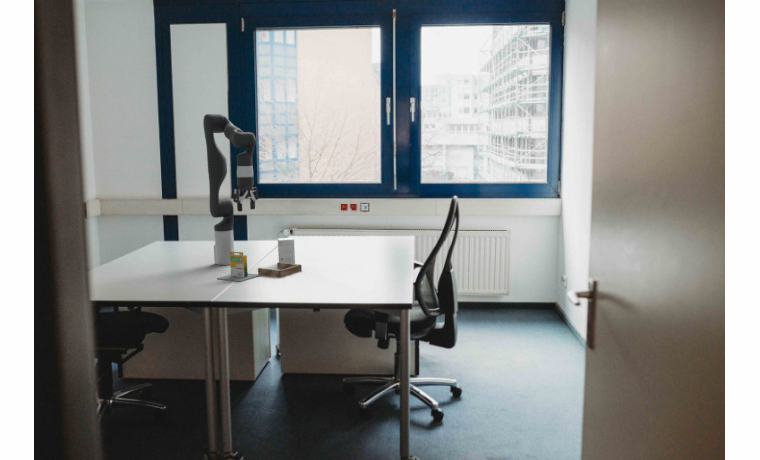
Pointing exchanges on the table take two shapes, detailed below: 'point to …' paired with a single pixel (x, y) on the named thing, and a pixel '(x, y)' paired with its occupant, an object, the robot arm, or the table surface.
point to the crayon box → (238, 264)
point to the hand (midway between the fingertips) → (246, 210)
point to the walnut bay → (286, 270)
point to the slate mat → (238, 279)
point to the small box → (286, 250)
